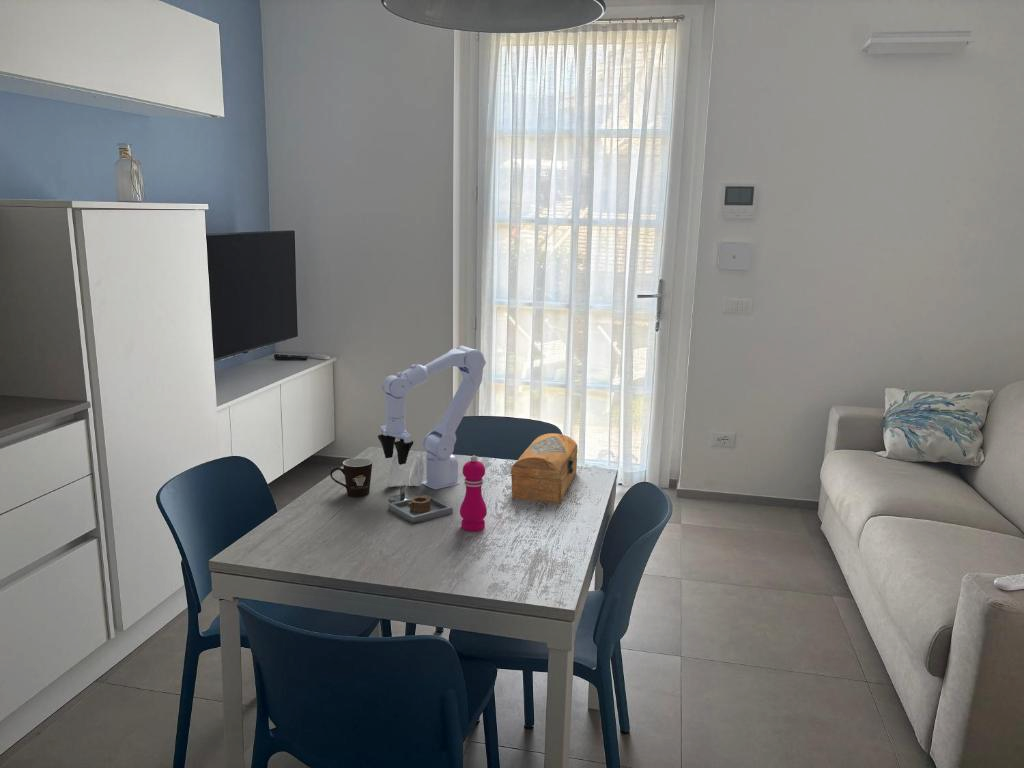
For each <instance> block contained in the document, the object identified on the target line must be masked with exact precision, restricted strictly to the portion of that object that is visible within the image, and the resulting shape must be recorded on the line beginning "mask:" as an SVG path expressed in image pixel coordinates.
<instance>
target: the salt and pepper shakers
mask: <svg viewBox="0 0 1024 768" xmlns="http://www.w3.org/2000/svg"><path fill="white" fill-rule="evenodd" d="M389 465H390V466H389V471H388V480H387V483H386V485H387V487H389V488H397V486H398V485H402V483H403V472H404V464H401V465H400V464H399V463H398V455H397V452H396V453H395V454H394V455H393V457H392V461H391V463H390V464H389ZM424 467H425V466H424V459H423V455H422V454H421V453H419V454H417V455H415V457H414V459H413V461H412V463H411V467H410V471H409V480H408V486H409V487H413V486H415V487H420V486H422V485H423V484H422V481H424V480H423V478H424V469H425V468H424Z"/></svg>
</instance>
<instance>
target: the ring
mask: <svg viewBox="0 0 1024 768" xmlns="http://www.w3.org/2000/svg"><path fill="white" fill-rule="evenodd" d="M431 497H432V496H430V498H428V497H424V495H420V496H419V495H418V496H415V497H413V498H411V500H410V502H409V503H408V507H409V508H410V511H412V512H413V513H426V512H429V511H430V509H431V502H432V498H433V497H432V498H431Z"/></svg>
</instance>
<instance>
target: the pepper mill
mask: <svg viewBox="0 0 1024 768" xmlns="http://www.w3.org/2000/svg"><path fill="white" fill-rule="evenodd" d="M485 474H486V467H485V465H484V463H482V462H481V461H480V460H478V456H477V455H471V457H470V460H469V461H467V462H466V463H464V465H463V466H462V475H463V477H464V485H465V496H464V498H463V501H462V502H461V505H460V508H459V514H460V515H459V516H460V517H461V518H462V519H461V525H460V526H461V529H463V531H467V532H480V531H483V530H484V529H485V527H486V524H485V523H486V520H485V518H486V516H487V515H488V509H487V505H486V502H485V500H484V498H483V494H482V486H483V484H484V478H483V477H485Z"/></svg>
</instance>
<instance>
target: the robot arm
mask: <svg viewBox="0 0 1024 768" xmlns="http://www.w3.org/2000/svg"><path fill="white" fill-rule="evenodd" d="M486 363H487V362H486V360H485V357H484V354H483V352H482V351H481V350H479V349H473V348H471V347H468V346H466V345H459V346H457V347H456V348H455V347H454V348H451V349H450V350H449V351H447V352H445V353H444V354H442V355H441V356H439V357H437V358H435V359H434V360H432V361H430V362H428V363H427V364H425V365H422V364H419V363H417V364H415V363H413V364H411V365H410V368H407V369H406V370H403V371H398V372H396V375H392V374H391V375H388V376H387V377H386V378H384V380H383V383H382V384H381V389H382V391H383V392H384V394H385V395H384V396H385V403H384V406H385V410H384V411H385V414H384V415H385V416H384V417H385V425H380V426H379V432H380V433H381V434H377V439H378V440H379V442H380V444H381V447H382V450H383V454H384V458H385V459H390V458H394V447H395V449H396V453H397V455H398V463H399V464H400V465H401V464H403V465H406V463H407V461H408V457H409V453H410V451H411V448H412V447H413V445H414V440H412V435H411V434H409V433H408V432H407V430H406V396H407V394H408V392H409V391H411V390H413V389H414V388H417V387H418V386H420V385H422V384H424V383H427V382H428V379H429V376H432V375H434V374H436V373H439V372H441V371H443V370H445V369H449V368H450V367H451V368H452V367H456V368H458V369H459V371H460V373H461V377H462V381H461V382H460V384H459V387H458V388H457V390H456V392H455V394H454V395H453V398H452V399H451V402H450V403H449V406H448V408H447V409H446V411H445V413H444V414H443V417H442V418H441V419H440V422H439V423H438V424H437V425H435V426H433V427H432V429H431V430H430V432H429V433H428V434H426V435H425V437H424V438H423V441H422V447H423V448H424V450H425V452H426V455H425V457H426V460H425V461H426V462H425V463H426V466H425V467H426V471H425V473H426V478H425V479H426V480H422V485H424V486H426V487H428V488H429V489H432V490H435V491H436V490H440V489H444V488H447V487H452V486H457V485H460V482H459V462H458V459H457V457H456V456H455V455H454V454H453V453H454V451H455V449H454V448H455V444H456V442H457V435H456V431H457V429H458V427H459V425H460V424H461V422H462V419H463V418H464V416H465V414H466V412H467V410H468V409H469V406H470V405H471V403H472V401H473V400H474V398H475V395H476V393H477V391H479V388H480V386H481V384H482V381H483V376H484V367H485V366H486ZM396 439H398V440H397V441H396Z"/></svg>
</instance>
